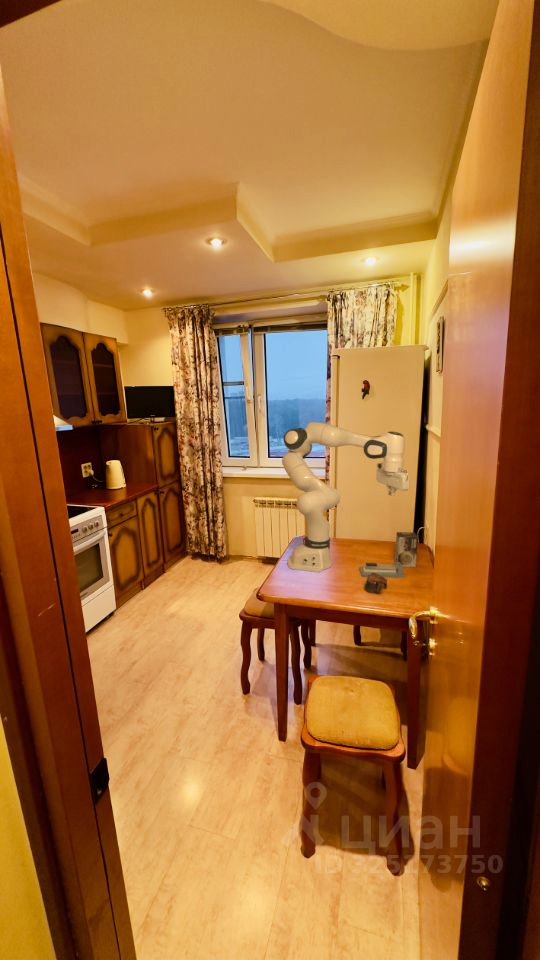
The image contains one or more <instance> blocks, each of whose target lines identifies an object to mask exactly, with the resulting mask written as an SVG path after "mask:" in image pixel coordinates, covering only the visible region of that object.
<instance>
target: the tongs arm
mask: <svg viewBox="0 0 540 960" xmlns="http://www.w3.org/2000/svg"><path fill="white" fill-rule="evenodd" d="M363 567H365V568H369V569H391V570H397V567H400V566H399V565H394V564H389V563H388V564H387V563H385V564H384V563H375V562H365V563H364V565H363Z"/></svg>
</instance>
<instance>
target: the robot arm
mask: <svg viewBox="0 0 540 960" xmlns="http://www.w3.org/2000/svg"><path fill="white" fill-rule="evenodd" d="M282 440H283V443H284V446H285V447H286V448H287V449H288V452H286V454H284V455H283V456H282V460H281V463H282V466H283V469H284V471H285V472H286V474H287V476H288V477H289V479H290V481H291V482H292V483H293V485H294V487H296V489H298V490H299V491H302V492H305V493H303V494H301V495H299V496H298V497H297V499H296V508H297V510H298V512H299V513H300V514H301V515H302V516H304V519H305V520H306V521H305V522H306V533H307V534H306V535H305V534H303V535H302V536H301V537H302V543H301V544H300V545H298V546H296V547H295V548H294V549H293V552H292V554H291V555H290V556H289V557H288V558H287V566H288V567H289V568H290V569H291V570H298V571H306V572H307V571H308V572H316V573H322V571H324V570H326V569H329V568H331V567H332V564H333V562H332V559H331V551H330V550H331V537H330V531H331V529H330V522H329V520H327V519H326V518H325V517H324V511H328V510H331V509H333V508H335V507H336V506H337V505H339V504H340V503H341V493H340V492H339V490H338V489H336V488H335V487H332V486H330V485H329V484H326V483H325V482H324V481H322V480H321V479H320V478H318V476H316V475H315V474H314V472H313V471H312V469H311V468H310V467H309V466H308V464H307V462H306V461H305V459H306V458H307V457H308V456H309V455H310V453H311V452H312V449H313V444H318V445H320V446H324V447H327V448H339V447H345V446H354V447H357V448H363V452H364V453H363V454H364V455H365V456H366V457H367V458H369V459H372V460H376V459H383V462H377V463H376V468H377V469H376V474H375V475H376V481H377V483H379V484H383V485H385V486H386V490H387V495H388V496H391V497H394V496H396V492H397V491H398V490H399V491H402V492H405V491H408V490H409V489H410V476H409V472H407V470H406V469H404V462H405V460H404V454H405V450H406V449H405V445H406V442H405V441H406V440H405V436H404V435H403V434H402V433H401V432H399V431H398V432H397V431H393V430H392V431H387V432H386V433H384V434H382V435H377V436H371V435H365V434H360V433H356V432H354V431H353V432H352V431H349V430H347V429H344V428H341V427H338V426H336V425H333V424H330V423H325V422H320V421H319V422H318V421H312V422H309V423H307V425H306V426H305V428H303V427H298V428H291V429H289V430H287V431H286V432H284V435H283V439H282Z"/></svg>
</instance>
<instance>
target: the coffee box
mask: <svg viewBox="0 0 540 960" xmlns="http://www.w3.org/2000/svg"><path fill="white" fill-rule="evenodd" d="M395 536H396V537H395V549H394V550H395V553H394V562H400V567H403V568H405V567H406V568H408V567H409V568H416V567H417V555H418V543H419V537H418V535H417V534H416V532H413V531H408V532H407V531H406V532H405V531H403V532H402V531H400V532H399V531H397V532H396V535H395Z"/></svg>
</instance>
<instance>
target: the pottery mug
mask: <svg viewBox="0 0 540 960" xmlns="http://www.w3.org/2000/svg"><path fill="white" fill-rule="evenodd" d="M387 582H388V579H387V578H386V577H382V576H380V575H378V574H376V573H373V572H372V574H371V575H369V576H368V577H366V581H365V583H364V585H363V589H364V590H366V591H367V592H368V593H370V594H372V595H373V593H374V592H375V593H376V594H378V593H380V592H381V590H382V589H383V587H384V590H387V588H388V583H387Z"/></svg>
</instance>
